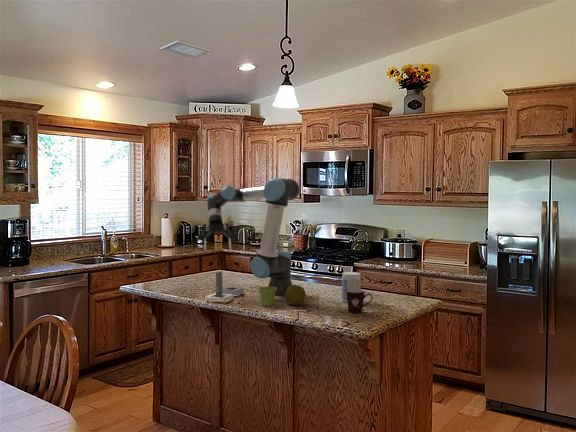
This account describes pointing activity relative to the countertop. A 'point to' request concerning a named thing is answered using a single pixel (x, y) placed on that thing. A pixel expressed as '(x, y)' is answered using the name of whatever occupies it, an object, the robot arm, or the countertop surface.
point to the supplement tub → (350, 283)
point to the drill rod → (218, 284)
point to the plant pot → (267, 295)
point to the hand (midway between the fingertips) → (218, 249)
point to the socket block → (232, 290)
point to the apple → (295, 295)
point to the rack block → (223, 298)
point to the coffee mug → (356, 300)
